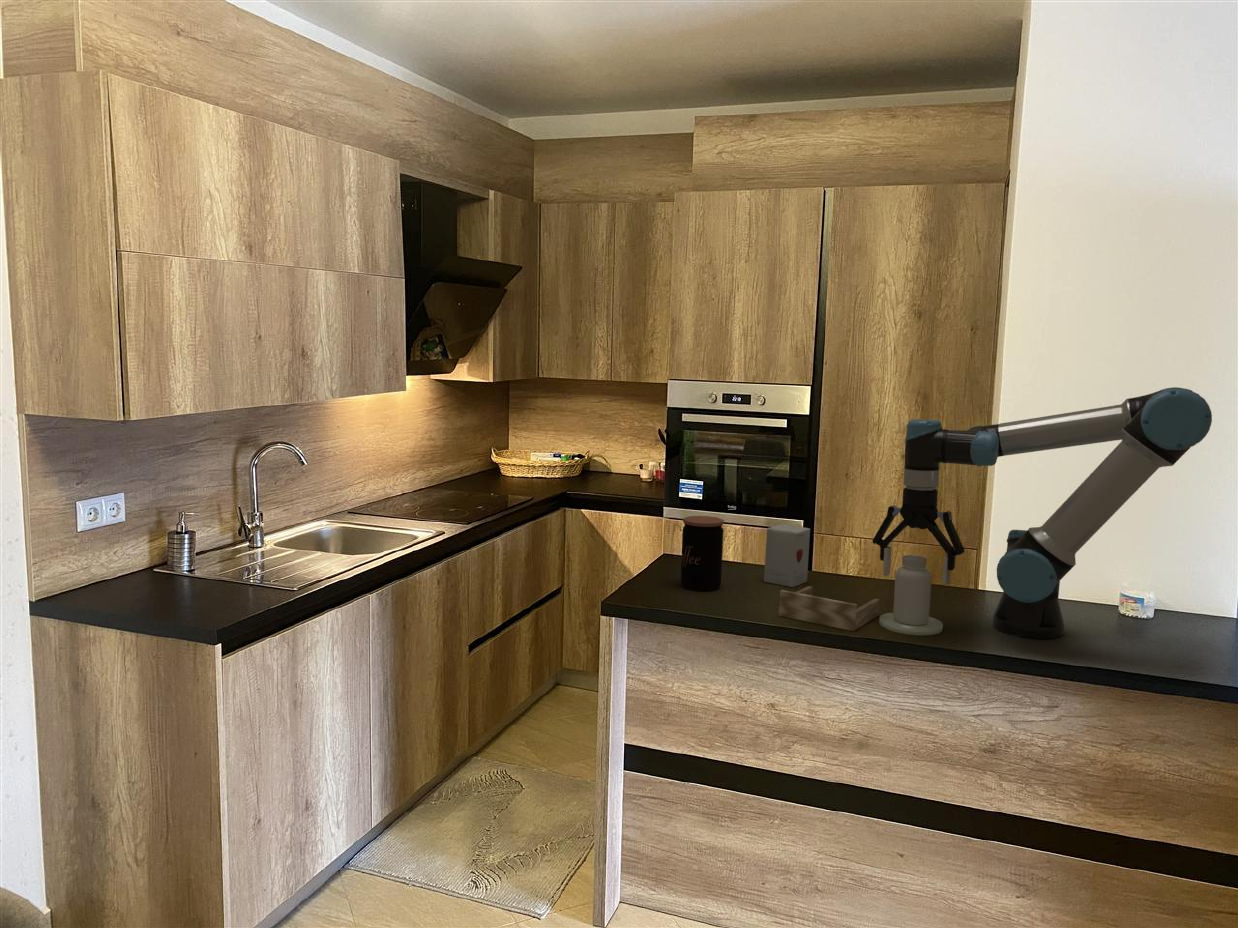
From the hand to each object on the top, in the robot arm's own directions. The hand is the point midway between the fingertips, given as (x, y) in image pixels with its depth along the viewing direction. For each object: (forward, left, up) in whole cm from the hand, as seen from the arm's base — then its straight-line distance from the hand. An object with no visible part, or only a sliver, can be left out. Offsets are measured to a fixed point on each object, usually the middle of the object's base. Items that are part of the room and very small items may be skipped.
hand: (915, 579), depth 211 cm
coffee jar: (+55, +2, -11) cm, 57 cm away
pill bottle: (+1, 0, -10) cm, 10 cm away
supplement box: (+40, -18, -11) cm, 46 cm away
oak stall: (+18, +4, -11) cm, 22 cm away
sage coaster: (0, 0, -11) cm, 11 cm away
